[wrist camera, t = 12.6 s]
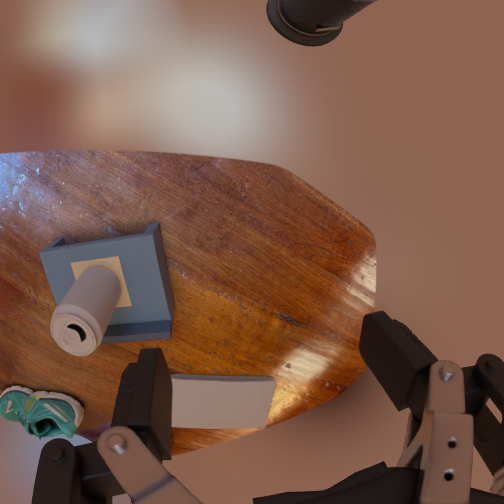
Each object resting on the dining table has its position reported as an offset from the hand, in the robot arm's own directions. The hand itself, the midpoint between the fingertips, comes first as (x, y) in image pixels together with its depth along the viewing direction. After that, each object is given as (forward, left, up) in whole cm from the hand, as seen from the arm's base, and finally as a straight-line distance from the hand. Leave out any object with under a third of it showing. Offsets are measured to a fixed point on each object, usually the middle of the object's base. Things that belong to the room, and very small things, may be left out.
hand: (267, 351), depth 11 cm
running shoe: (+41, -51, -33) cm, 73 cm away
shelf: (+10, -18, -33) cm, 39 cm away
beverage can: (+9, -18, -27) cm, 34 cm away
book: (+42, -5, -33) cm, 54 cm away
